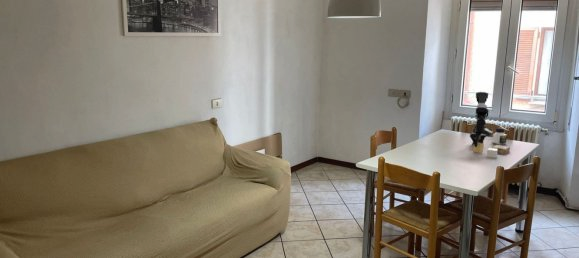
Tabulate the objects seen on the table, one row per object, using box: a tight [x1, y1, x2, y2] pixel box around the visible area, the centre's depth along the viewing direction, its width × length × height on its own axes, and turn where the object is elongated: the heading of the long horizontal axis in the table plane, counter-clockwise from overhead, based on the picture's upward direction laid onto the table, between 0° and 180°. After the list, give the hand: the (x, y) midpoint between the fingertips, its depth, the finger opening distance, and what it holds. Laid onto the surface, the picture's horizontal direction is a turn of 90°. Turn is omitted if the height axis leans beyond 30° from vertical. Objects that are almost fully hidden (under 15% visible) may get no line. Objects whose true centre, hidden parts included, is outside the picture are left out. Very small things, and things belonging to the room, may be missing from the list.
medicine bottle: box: [491, 126, 508, 145], centre depth 350 cm, size 7×7×12 cm
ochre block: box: [472, 142, 485, 153], centre depth 326 cm, size 5×5×6 cm
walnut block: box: [491, 144, 511, 155], centre depth 325 cm, size 9×9×4 cm
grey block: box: [486, 147, 498, 159], centre depth 313 cm, size 6×6×5 cm
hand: (478, 145), depth 325 cm, fingers open, 9 cm apart
